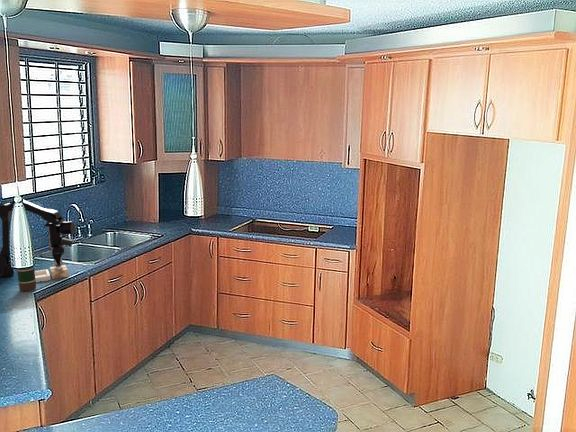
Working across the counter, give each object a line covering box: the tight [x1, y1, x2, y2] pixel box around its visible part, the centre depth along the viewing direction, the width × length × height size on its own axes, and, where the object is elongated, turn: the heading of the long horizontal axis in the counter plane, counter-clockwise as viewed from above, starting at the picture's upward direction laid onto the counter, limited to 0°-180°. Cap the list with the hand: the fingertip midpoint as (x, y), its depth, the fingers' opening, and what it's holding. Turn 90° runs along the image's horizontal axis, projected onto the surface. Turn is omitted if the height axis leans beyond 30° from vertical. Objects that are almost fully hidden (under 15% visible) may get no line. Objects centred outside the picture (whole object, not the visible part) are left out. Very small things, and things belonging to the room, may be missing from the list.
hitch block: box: [49, 264, 69, 280], centre depth 310 cm, size 8×10×4 cm
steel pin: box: [52, 257, 63, 270], centre depth 309 cm, size 4×4×9 cm
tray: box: [34, 269, 52, 283], centre depth 305 cm, size 11×14×2 cm
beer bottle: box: [16, 265, 37, 293], centre depth 285 cm, size 8×8×24 cm
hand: (57, 262), depth 309 cm, fingers open, 9 cm apart
